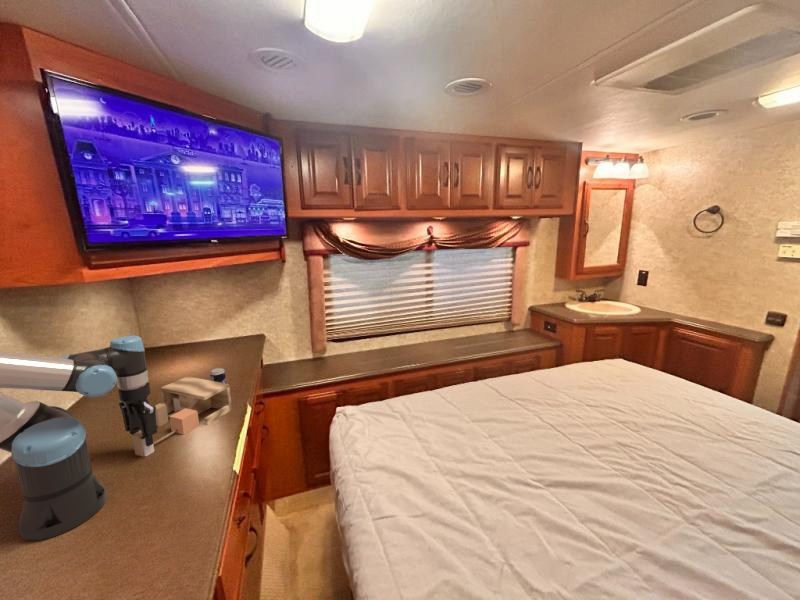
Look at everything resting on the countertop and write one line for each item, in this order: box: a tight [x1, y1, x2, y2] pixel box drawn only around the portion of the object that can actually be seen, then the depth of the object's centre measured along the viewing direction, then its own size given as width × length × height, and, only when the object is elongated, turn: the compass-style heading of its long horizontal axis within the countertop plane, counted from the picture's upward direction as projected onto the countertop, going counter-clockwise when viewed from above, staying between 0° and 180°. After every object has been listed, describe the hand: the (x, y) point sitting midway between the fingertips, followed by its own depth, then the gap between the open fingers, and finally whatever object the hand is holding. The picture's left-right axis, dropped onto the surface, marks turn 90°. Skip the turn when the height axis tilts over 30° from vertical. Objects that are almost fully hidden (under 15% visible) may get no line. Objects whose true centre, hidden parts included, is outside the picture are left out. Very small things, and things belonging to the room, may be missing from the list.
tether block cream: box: [154, 396, 181, 427], centre depth 124 cm, size 15×6×7 cm, turn 161°
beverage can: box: [209, 367, 227, 384], centre depth 140 cm, size 6×6×12 cm
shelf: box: [160, 376, 233, 425], centre depth 126 cm, size 11×23×11 cm, turn 71°
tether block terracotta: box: [131, 408, 200, 458], centre depth 109 cm, size 19×6×7 cm, turn 161°
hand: (144, 452), depth 103 cm, fingers closed on tether block terracotta, 3 cm apart
